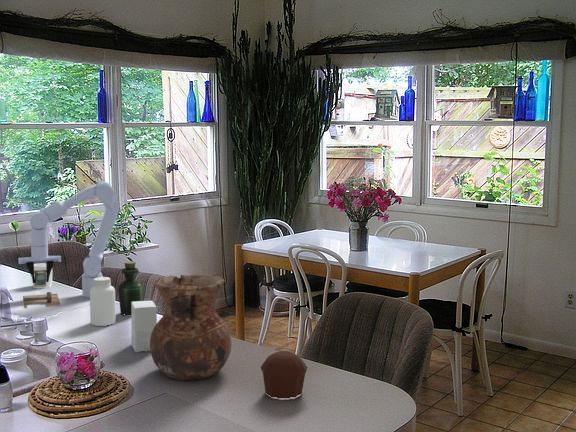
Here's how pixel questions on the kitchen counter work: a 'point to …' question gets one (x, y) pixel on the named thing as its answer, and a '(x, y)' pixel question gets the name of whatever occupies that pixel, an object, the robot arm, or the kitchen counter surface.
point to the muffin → (283, 374)
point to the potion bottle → (129, 288)
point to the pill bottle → (102, 302)
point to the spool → (40, 278)
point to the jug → (190, 328)
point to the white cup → (43, 267)
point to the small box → (142, 324)
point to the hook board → (42, 299)
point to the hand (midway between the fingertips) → (40, 282)
